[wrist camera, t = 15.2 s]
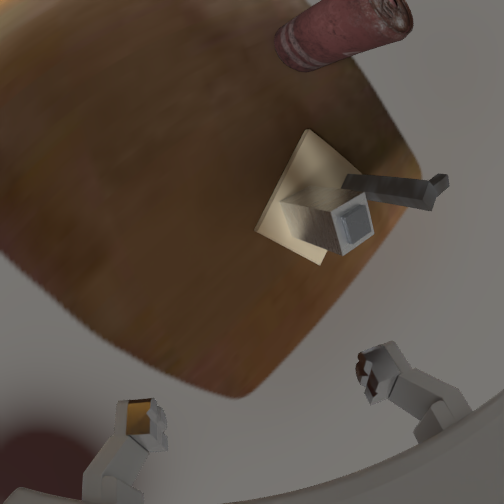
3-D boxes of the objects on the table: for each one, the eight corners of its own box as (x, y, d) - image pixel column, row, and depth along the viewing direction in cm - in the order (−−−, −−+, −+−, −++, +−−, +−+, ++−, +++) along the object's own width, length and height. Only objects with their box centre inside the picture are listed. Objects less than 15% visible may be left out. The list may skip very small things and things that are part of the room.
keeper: (309, 120, 29) (397, 106, 19) (369, 172, 35) (451, 180, 24) (253, 230, 30) (330, 263, 19) (325, 268, 35) (402, 305, 24)
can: (314, 29, 27) (406, -13, 14) (322, 76, 29) (423, 46, 16) (268, 20, 25) (355, -40, 12) (274, 70, 26) (374, 24, 14)
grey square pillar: (279, 201, 29) (335, 213, 22) (310, 185, 30) (369, 192, 23) (291, 236, 31) (347, 257, 23) (320, 219, 32) (379, 235, 24)
